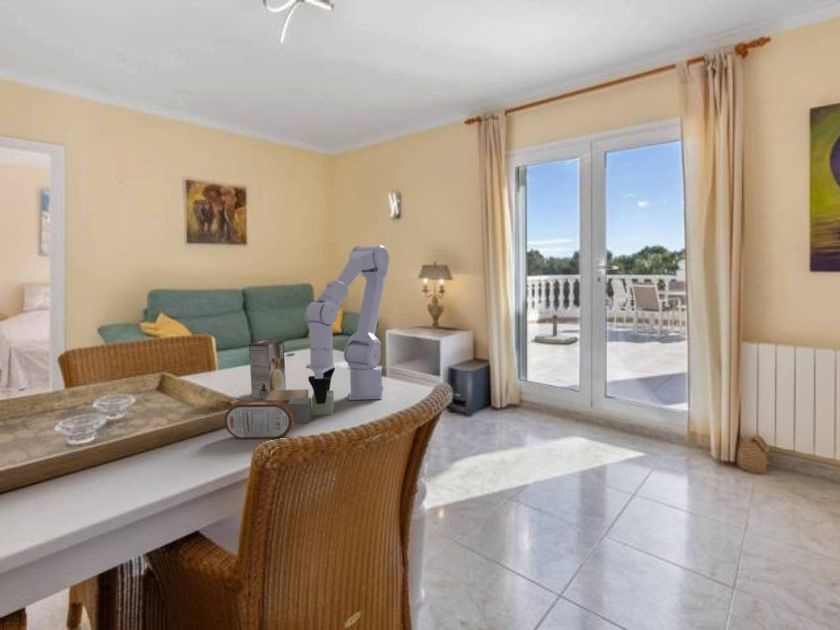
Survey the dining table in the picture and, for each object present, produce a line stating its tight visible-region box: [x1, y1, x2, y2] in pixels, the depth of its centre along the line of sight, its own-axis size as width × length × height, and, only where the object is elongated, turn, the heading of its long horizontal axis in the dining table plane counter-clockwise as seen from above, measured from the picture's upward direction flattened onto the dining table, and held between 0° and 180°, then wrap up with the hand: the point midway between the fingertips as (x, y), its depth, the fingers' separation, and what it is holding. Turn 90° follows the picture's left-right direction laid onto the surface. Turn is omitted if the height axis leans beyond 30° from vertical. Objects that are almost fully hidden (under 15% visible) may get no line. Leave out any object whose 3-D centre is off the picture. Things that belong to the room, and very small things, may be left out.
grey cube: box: [288, 397, 313, 424], centre depth 114 cm, size 5×5×5 cm
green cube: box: [311, 390, 335, 416], centre depth 121 cm, size 5×5×5 cm
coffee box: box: [248, 338, 287, 400], centre depth 136 cm, size 9×6×16 cm
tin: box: [224, 399, 295, 440], centre depth 102 cm, size 15×3×8 cm, turn 92°
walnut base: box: [264, 388, 310, 404], centre depth 124 cm, size 10×10×4 cm
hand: (322, 399), depth 120 cm, fingers open, 7 cm apart
